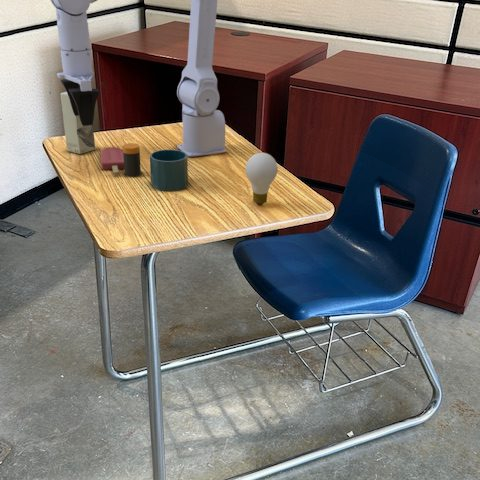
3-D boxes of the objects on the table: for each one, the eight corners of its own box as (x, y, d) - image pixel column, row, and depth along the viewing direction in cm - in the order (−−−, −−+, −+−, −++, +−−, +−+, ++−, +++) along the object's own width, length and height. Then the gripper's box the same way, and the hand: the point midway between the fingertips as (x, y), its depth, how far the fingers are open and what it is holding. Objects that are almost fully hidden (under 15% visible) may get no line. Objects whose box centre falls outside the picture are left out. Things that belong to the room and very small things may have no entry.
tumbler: (179, 175, 127) (179, 147, 124) (193, 187, 122) (193, 158, 119) (146, 180, 125) (144, 152, 121) (158, 193, 119) (157, 163, 116)
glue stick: (138, 170, 130) (136, 142, 126) (143, 175, 127) (141, 147, 124) (122, 172, 128) (120, 144, 125) (127, 177, 126) (125, 149, 122)
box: (80, 155, 136) (73, 96, 129) (66, 151, 138) (58, 93, 131) (96, 149, 140) (90, 91, 133) (82, 145, 142) (76, 88, 135)
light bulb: (239, 207, 114) (241, 155, 109) (250, 196, 119) (252, 146, 113) (269, 213, 113) (272, 160, 107) (278, 201, 117) (282, 151, 112)
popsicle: (102, 170, 124) (99, 147, 137) (103, 177, 125) (99, 154, 137) (128, 168, 126) (122, 146, 138) (129, 175, 127) (123, 153, 139)
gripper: (48, 43, 121) (57, 112, 129) (61, 56, 110) (70, 131, 118) (83, 41, 124) (90, 109, 131) (99, 54, 113) (106, 128, 120)
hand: (83, 119), depth 125 cm, fingers open, 7 cm apart
